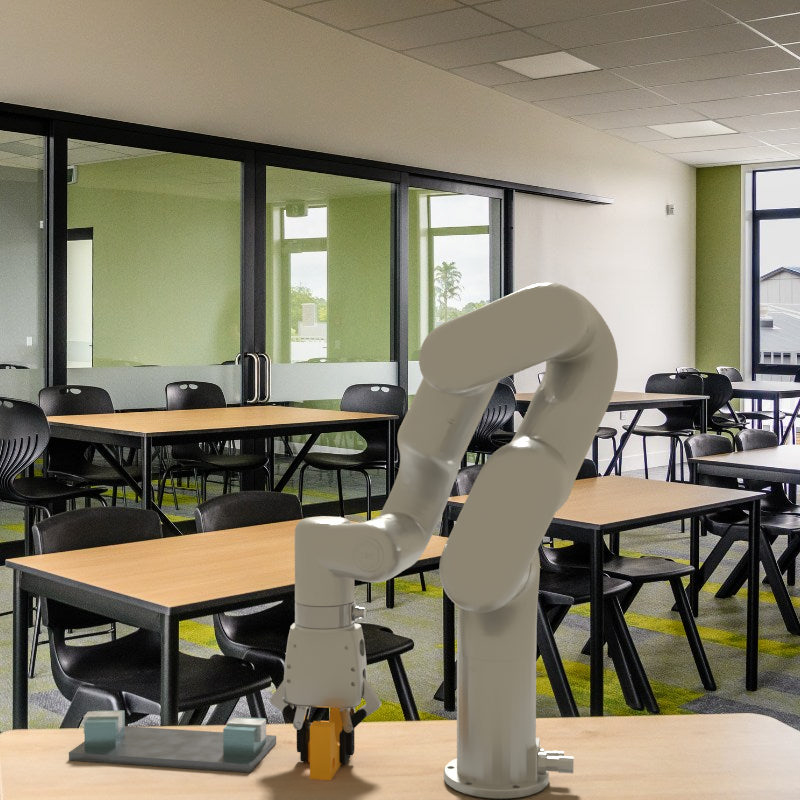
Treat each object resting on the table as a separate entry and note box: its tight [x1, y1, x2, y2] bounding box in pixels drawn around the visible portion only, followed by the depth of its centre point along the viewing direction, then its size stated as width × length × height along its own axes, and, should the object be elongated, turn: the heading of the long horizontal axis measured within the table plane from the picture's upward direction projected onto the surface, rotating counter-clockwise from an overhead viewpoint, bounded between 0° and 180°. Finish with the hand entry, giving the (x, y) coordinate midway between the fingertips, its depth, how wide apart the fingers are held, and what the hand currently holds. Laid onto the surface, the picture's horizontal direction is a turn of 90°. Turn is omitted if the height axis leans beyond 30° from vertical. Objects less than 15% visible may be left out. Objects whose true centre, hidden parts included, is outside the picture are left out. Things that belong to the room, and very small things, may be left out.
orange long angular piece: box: [307, 708, 343, 781], centre depth 136 cm, size 12×4×6 cm, turn 170°
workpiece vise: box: [68, 709, 277, 774], centre depth 140 cm, size 24×11×4 cm, turn 80°
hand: (325, 757), depth 136 cm, fingers closed on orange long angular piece, 4 cm apart
